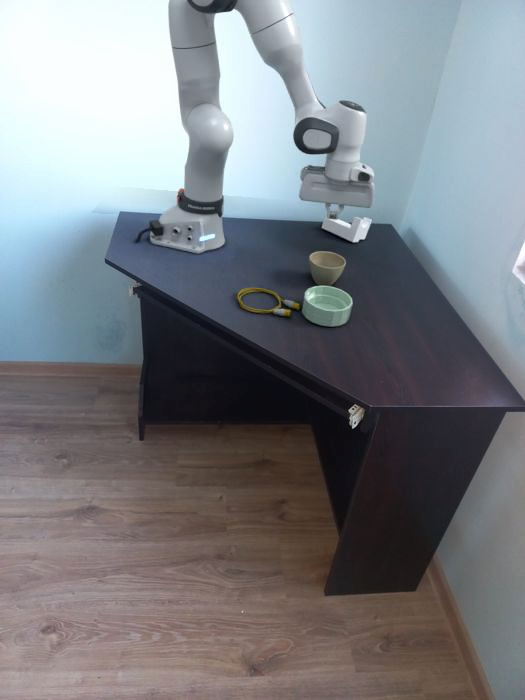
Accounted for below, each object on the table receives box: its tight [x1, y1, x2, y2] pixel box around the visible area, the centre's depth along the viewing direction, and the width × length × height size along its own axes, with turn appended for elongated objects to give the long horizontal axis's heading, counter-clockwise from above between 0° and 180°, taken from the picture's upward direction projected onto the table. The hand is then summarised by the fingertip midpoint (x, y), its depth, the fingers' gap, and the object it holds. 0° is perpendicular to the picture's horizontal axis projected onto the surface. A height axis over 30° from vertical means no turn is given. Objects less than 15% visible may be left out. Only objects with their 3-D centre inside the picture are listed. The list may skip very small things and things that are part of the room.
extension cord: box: [237, 287, 301, 318], centre depth 136 cm, size 12×16×2 cm
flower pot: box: [308, 250, 347, 287], centre depth 148 cm, size 10×10×7 cm
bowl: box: [301, 285, 354, 328], centre depth 135 cm, size 12×12×5 cm
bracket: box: [321, 216, 373, 243], centre depth 176 cm, size 13×7×8 cm, turn 46°
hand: (332, 218), depth 149 cm, fingers closed
